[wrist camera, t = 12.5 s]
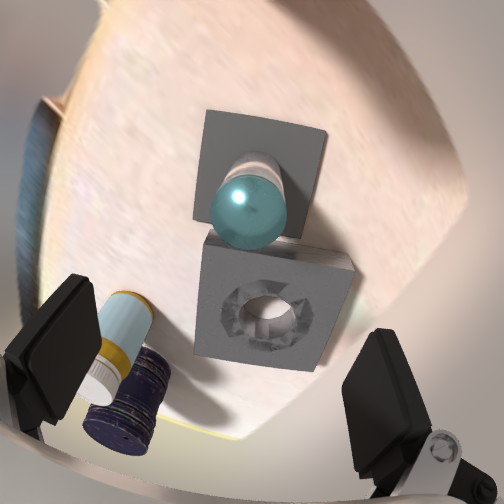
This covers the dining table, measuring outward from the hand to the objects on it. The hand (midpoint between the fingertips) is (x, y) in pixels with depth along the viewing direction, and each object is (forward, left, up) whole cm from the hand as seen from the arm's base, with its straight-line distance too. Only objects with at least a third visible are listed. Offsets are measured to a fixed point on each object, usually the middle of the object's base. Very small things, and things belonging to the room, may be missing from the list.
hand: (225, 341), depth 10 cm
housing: (+15, +4, -24) cm, 29 cm away
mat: (0, 0, -24) cm, 24 cm away
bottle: (+21, -14, -24) cm, 35 cm away
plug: (0, 0, -24) cm, 24 cm away
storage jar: (+33, -13, -24) cm, 43 cm away
